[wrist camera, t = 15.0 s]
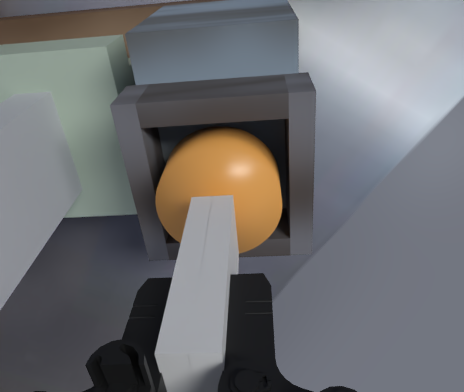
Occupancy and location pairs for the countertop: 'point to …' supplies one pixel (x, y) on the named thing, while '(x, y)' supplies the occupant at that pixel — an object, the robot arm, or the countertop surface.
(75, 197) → the block
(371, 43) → the countertop surface
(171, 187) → the button
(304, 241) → the rail bench
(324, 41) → the countertop surface
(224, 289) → the robot arm
